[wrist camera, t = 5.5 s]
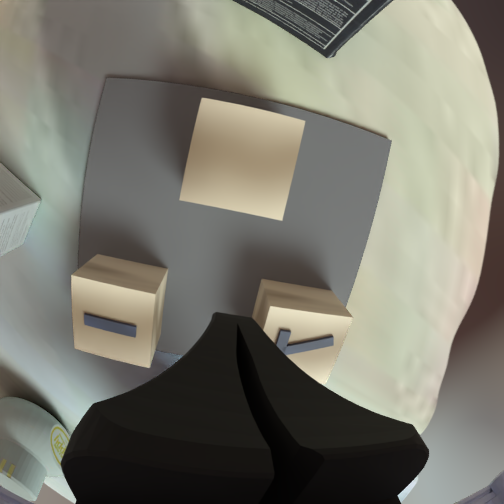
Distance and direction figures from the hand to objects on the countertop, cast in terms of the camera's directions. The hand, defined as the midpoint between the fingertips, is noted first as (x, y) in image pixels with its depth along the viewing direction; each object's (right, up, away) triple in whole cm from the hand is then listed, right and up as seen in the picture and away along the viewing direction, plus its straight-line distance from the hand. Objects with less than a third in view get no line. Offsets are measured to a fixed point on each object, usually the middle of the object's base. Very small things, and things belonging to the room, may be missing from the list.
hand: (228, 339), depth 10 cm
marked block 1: (-8, 0, +9) cm, 12 cm away
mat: (-1, +4, +9) cm, 10 cm away
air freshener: (-22, -16, +13) cm, 30 cm away
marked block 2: (+3, -2, +11) cm, 11 cm away
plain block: (0, +8, +7) cm, 11 cm away
